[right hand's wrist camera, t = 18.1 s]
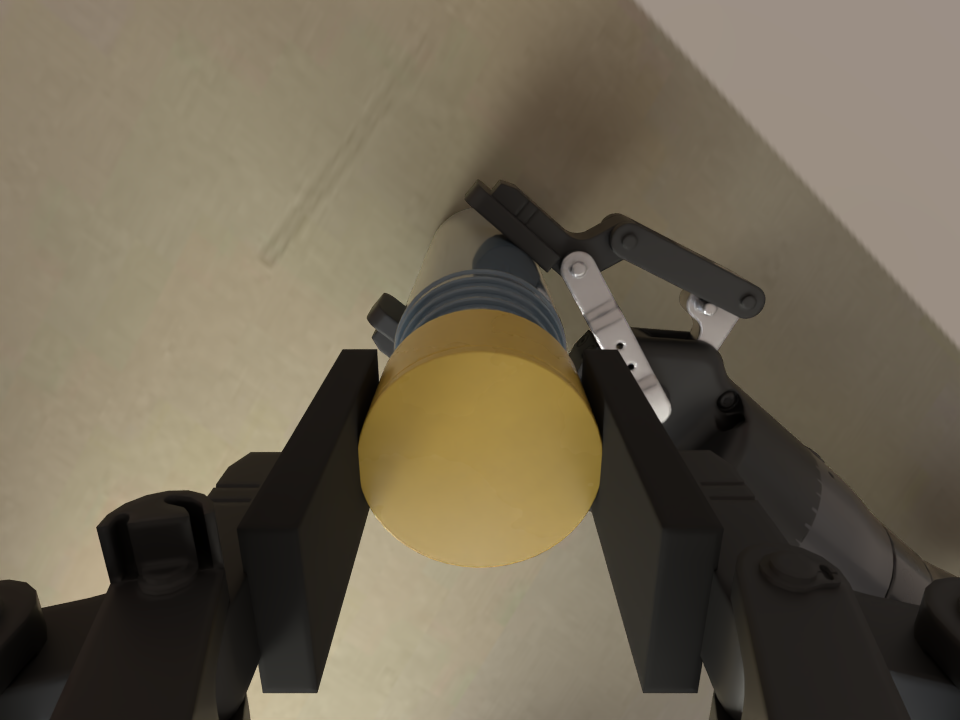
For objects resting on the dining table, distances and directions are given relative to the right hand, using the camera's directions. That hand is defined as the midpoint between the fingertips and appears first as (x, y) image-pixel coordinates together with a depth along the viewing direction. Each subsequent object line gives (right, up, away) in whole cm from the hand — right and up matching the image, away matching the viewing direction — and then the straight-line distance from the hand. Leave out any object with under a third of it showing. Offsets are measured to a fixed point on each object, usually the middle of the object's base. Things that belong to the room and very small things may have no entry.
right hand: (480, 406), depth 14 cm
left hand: (-2, +5, +8) cm, 10 cm away
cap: (0, 0, 0) cm, 0 cm away
